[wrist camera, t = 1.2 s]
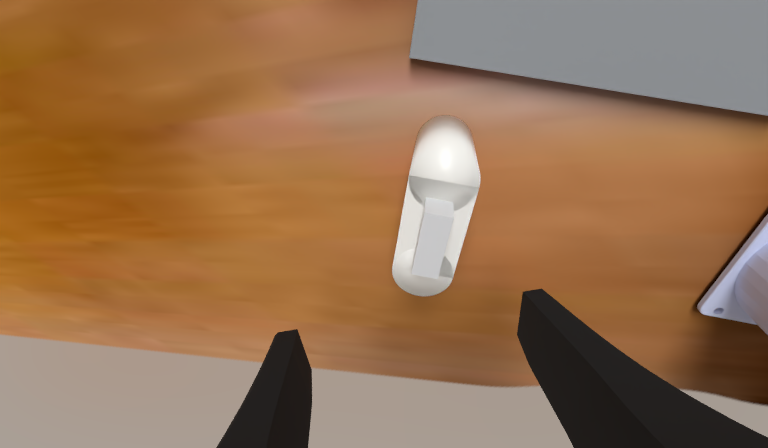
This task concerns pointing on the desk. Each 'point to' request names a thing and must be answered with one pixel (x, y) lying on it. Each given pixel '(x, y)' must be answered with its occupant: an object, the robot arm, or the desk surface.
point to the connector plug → (436, 206)
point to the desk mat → (610, 45)
